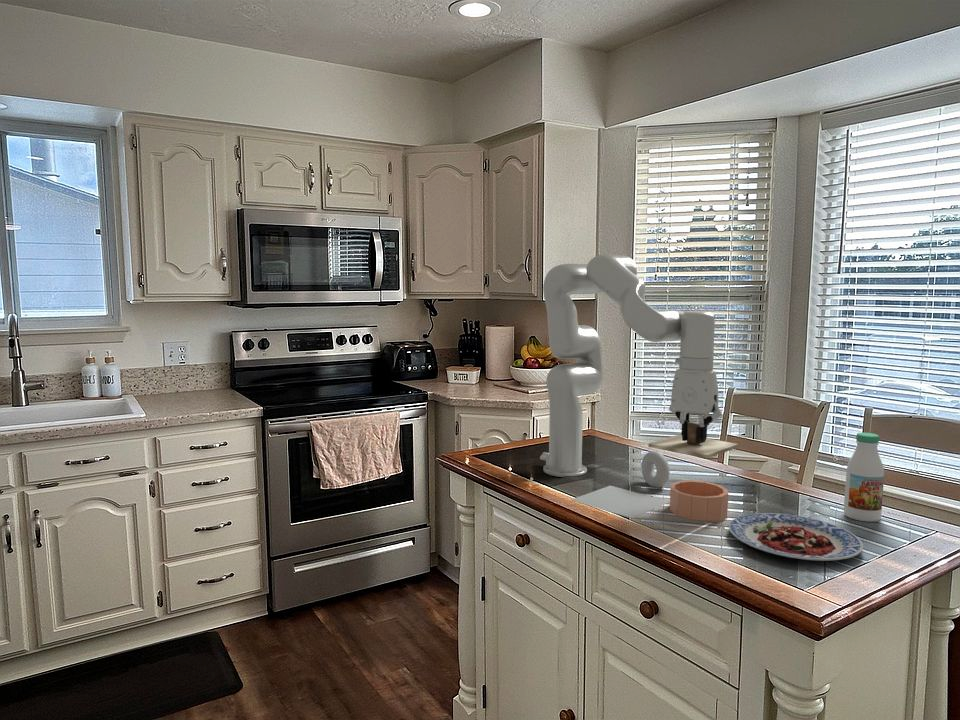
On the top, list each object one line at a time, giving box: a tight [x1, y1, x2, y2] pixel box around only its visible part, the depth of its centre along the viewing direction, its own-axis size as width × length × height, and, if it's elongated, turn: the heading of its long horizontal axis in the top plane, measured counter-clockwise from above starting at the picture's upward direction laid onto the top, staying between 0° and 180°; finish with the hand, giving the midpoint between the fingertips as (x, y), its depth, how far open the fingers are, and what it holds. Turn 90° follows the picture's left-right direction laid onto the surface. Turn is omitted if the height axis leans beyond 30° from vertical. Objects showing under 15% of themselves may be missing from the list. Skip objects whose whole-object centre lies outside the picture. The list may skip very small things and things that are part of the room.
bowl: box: [669, 479, 729, 524], centre depth 159 cm, size 13×13×6 cm
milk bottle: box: [843, 432, 885, 523], centre depth 156 cm, size 8×8×20 cm
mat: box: [571, 485, 670, 519], centre depth 167 cm, size 18×17×1 cm
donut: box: [640, 450, 670, 489], centre depth 179 cm, size 10×4×10 cm, turn 23°
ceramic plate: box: [728, 512, 864, 562], centre depth 142 cm, size 26×26×3 cm
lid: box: [647, 421, 740, 459], centre depth 158 cm, size 15×15×6 cm
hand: (693, 440), depth 158 cm, fingers closed on lid, 3 cm apart
